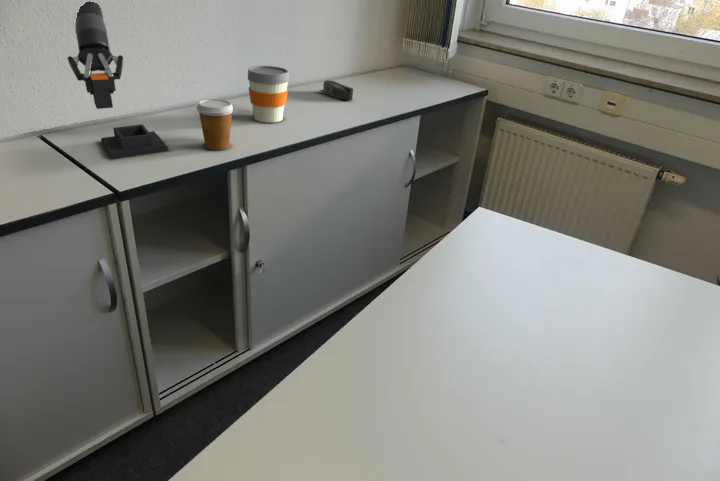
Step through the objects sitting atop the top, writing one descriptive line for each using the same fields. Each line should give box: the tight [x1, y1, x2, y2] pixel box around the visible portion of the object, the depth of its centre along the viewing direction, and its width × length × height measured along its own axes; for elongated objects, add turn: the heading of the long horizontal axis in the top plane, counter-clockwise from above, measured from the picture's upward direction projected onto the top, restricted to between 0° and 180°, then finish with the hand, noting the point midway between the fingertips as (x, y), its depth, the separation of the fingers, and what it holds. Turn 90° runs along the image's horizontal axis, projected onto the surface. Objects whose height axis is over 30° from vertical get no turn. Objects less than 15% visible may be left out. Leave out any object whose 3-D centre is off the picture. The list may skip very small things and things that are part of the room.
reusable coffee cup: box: [247, 65, 290, 123], centre depth 169 cm, size 13×13×15 cm
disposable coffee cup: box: [196, 98, 235, 151], centre depth 147 cm, size 10×10×12 cm
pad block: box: [90, 72, 114, 110], centre depth 144 cm, size 4×5×8 cm
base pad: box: [100, 123, 168, 160], centre depth 144 cm, size 14×12×4 cm
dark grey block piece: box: [319, 79, 354, 102], centre depth 197 cm, size 5×3×15 cm
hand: (101, 92), depth 143 cm, fingers closed on pad block, 4 cm apart
